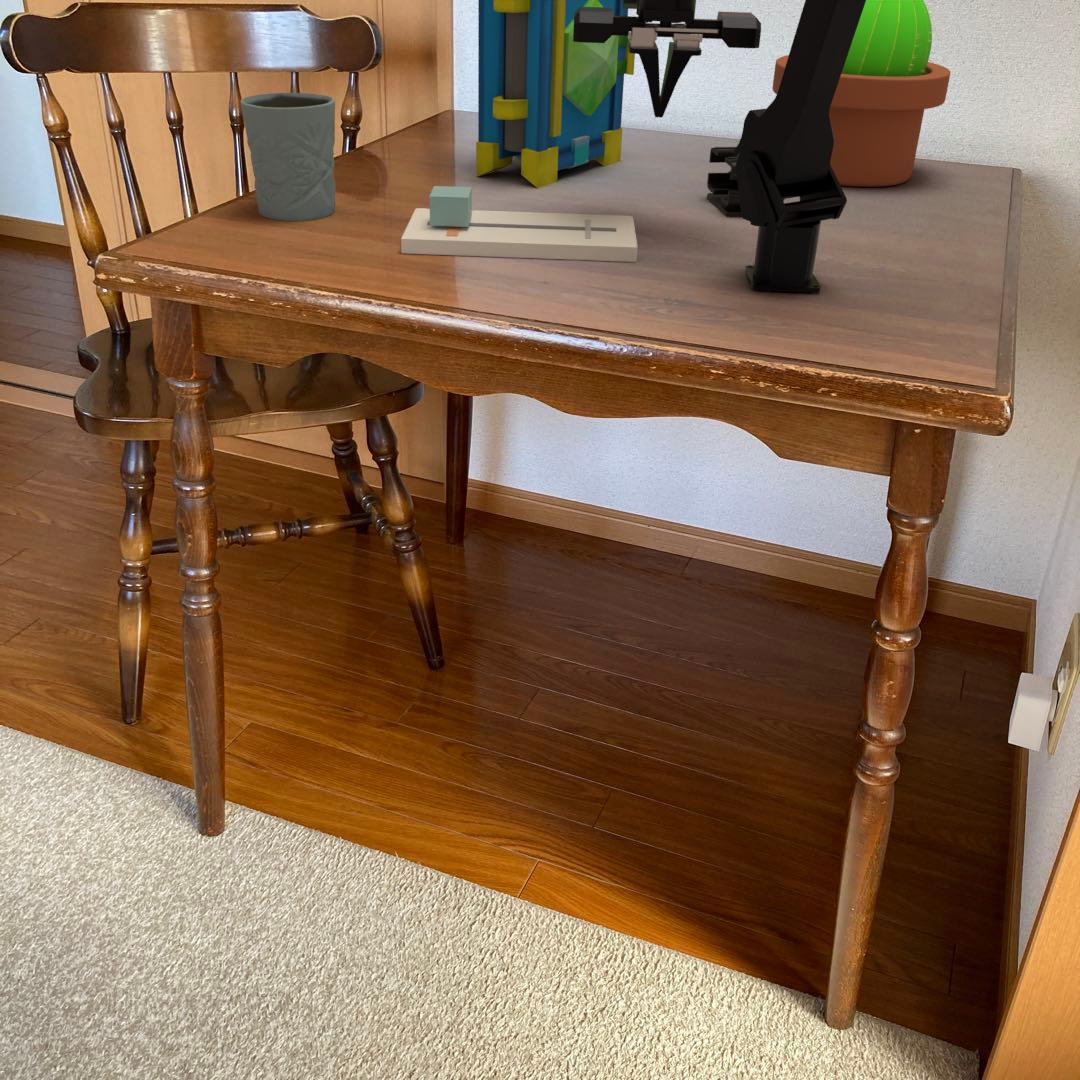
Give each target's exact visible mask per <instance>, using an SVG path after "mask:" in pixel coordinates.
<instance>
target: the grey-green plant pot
mask: <svg viewBox="0 0 1080 1080" xmlns="http://www.w3.org/2000/svg"><path fill="white" fill-rule="evenodd" d="M240 108H241V113H242V117H243V119H242V120H243V123H244V128H245V133H246V138H247V140H246V141H247V147H248V149H249V151H250V161H251V166H252V172H253V177H254V190H255V197H256V201H257V208H258V209H257V210H258V214H260V215H261V216H263V217H265V218H267V219H272V220H276V221H285V222H305V221H313V220H314V221H315V220H320V219H323V218H327V217H330V216H331V215H332V214H334V213H335V210H336V182H335V181H336V180H335V175H334V172H335V171H334V170H335V166H336V165H335V158H334V157H335V156H334V155H335V153H334V147H335V140H336V138H335V137H336V136H335V133H336V100H335V98H334V97H332V96H328V95H325V94H317V93H306V92H275V93H273V92H272V93H271V92H269V93H262V94H254V95H250V96H245V97H243V98H241V99H240Z"/></svg>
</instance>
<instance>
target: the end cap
mask: <svg viewBox="0 0 1080 1080" xmlns="http://www.w3.org/2000/svg"><path fill="white" fill-rule="evenodd" d="M736 147H737V146H714V147H711V149H710V152H709V159H708V161H709V163H710V164H711V163H723V164H724V163H726V165H728V166H730V170H729V171H728V172H707V179H706V180H707V182H706V186H707V187H706V188H707V189H708V190H709V192H708V193H707V195H706V199H707V200H708V201H709V202H710V203H711V204H712V205H713V206H714V207H716V209H718V210H719V211H720V212H721V213H722V214H723V215H724V216H725V217H727V218H742V215H741V207H740V198H739V190H738V182H737V176H736V162H737V158H738V155H739V153H735V152H734V150H735V148H736ZM784 201H786V199H783V202H784Z"/></svg>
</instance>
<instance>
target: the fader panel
mask: <svg viewBox="0 0 1080 1080" xmlns="http://www.w3.org/2000/svg"><path fill="white" fill-rule="evenodd" d="M400 240H401V241H400V243H401V245H400V247H401V254H407V255H409V254H410V255H434V256H435V255H437V256H438V255H439V256H440V255H441V256H462V257H463V256H465V257H466V256H467V257H487V258H488V257H490V258H491V257H492V258H493V257H495V258H514V259H515V258H516V259H518V258H519V259H521V258H523V259H544V260H545V259H546V260H550V259H551V260H572V261H573V260H575V261H598V262H599V261H603V262H604V261H605V262H624V263H625V262H627V263H628V262H629V263H637V261H638V247H639V246H638V241H637V236H636V229H635V222H634V216H633V215H618V214H617V215H613V214H612V215H611V214H588V213H587V214H585V213H563V212H562V213H558V212H534V211H533V212H532V211H530V212H529V211H527V212H526V211H505V210H504V211H503V210H481V209H480V210H479V209H478V210H476V209H474V210H473V209H472V217H471V220H470V223H469V226H468V227H456V226H430V208H423V207H422V208H420V207H419V208H418V207H416V208H415V210H414V212H413V213H412V215H411V217H410V220H409V222H408V223H407V226H406V227H405V230H404V231H403V233H402V236H401V237H400Z"/></svg>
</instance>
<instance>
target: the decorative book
mask: <svg viewBox="0 0 1080 1080" xmlns="http://www.w3.org/2000/svg"><path fill="white" fill-rule="evenodd" d="M622 2H623V0H478V6H477V7H478V9H477V10H478V20H477V21H478V24H477V25H478V31H477V32H478V40H477V41H478V48H477V49H478V66H477V67H478V79H477V80H478V81H477V82H478V88H477V90H478V92H477V93H478V99H477V100H478V101H477V102H478V104H477V105H478V106H477V107H478V112H477V114H478V127H477V128H478V130H477V132H478V135H477V137H478V139H477V140H478V141H476V142H475V144H476V147H475V153H476V155H475V158H476V164H475V167H476V168H475V171H476V173H475V176H476V177H478V178H479V177H481V176H483V175H487V174H491V173H494V172H497V171H499V170H501V169H504V168H507V167H508V166H511V165H513V157H515V158H516V160H518V161H521V166H520V168H521V169H520V171H521V172H520V175H521V176H522V177H523V178H525V179H526V180H527V181H528V182H530V184H532V185H533V186H535V187H536V188H537V189H540V187H541V188H543V187H547V186H549V185H553V184H556V183H558V171H561V170H564V169H566V170H570V169H573V168H576V167H579V166H582V165H584V164H587V163H588V162H589V161H592V160H595V161H596V162H598V164H600V165H601V166H602V167H607V166H610V165H612V164H616V163H618V162H619V163H620V162H621V156H622V144H623V143H622V139H623V128H622V114H623V101H624V99H623V98H624V83H625V81H624V80H625V75H631V76H634V73H635V56H636V54H633V53H629V50H628V41H630V40H628V36H620V35H612V36H611V37H610V38H609V39H608V40H607V41H606V42H605V43H584V42H574V41H573V31H574V12H575V11H576V10H577V9H578V8H579V7H603V8H612V9H613V16H629V9H623V7H622ZM555 182H556V183H555ZM552 183H553V184H552ZM546 185H547V186H546Z"/></svg>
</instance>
